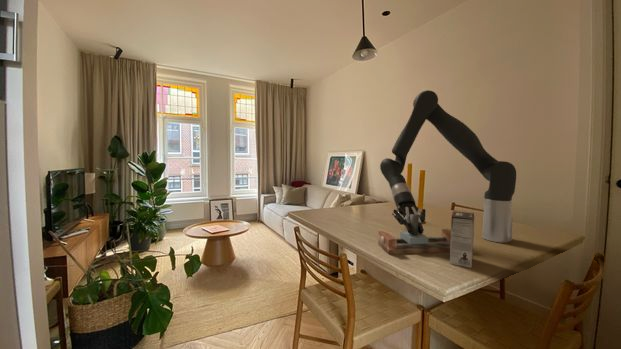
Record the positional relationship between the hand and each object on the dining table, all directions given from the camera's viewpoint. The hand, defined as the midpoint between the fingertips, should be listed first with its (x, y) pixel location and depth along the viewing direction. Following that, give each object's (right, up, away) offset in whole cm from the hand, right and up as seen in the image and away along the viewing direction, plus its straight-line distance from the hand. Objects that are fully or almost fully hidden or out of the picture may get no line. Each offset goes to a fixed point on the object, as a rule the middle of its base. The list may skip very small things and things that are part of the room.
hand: (416, 233), depth 93 cm
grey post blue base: (0, -3, +2) cm, 4 cm away
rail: (+3, -6, +3) cm, 7 cm away
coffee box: (+11, -7, -9) cm, 16 cm away
